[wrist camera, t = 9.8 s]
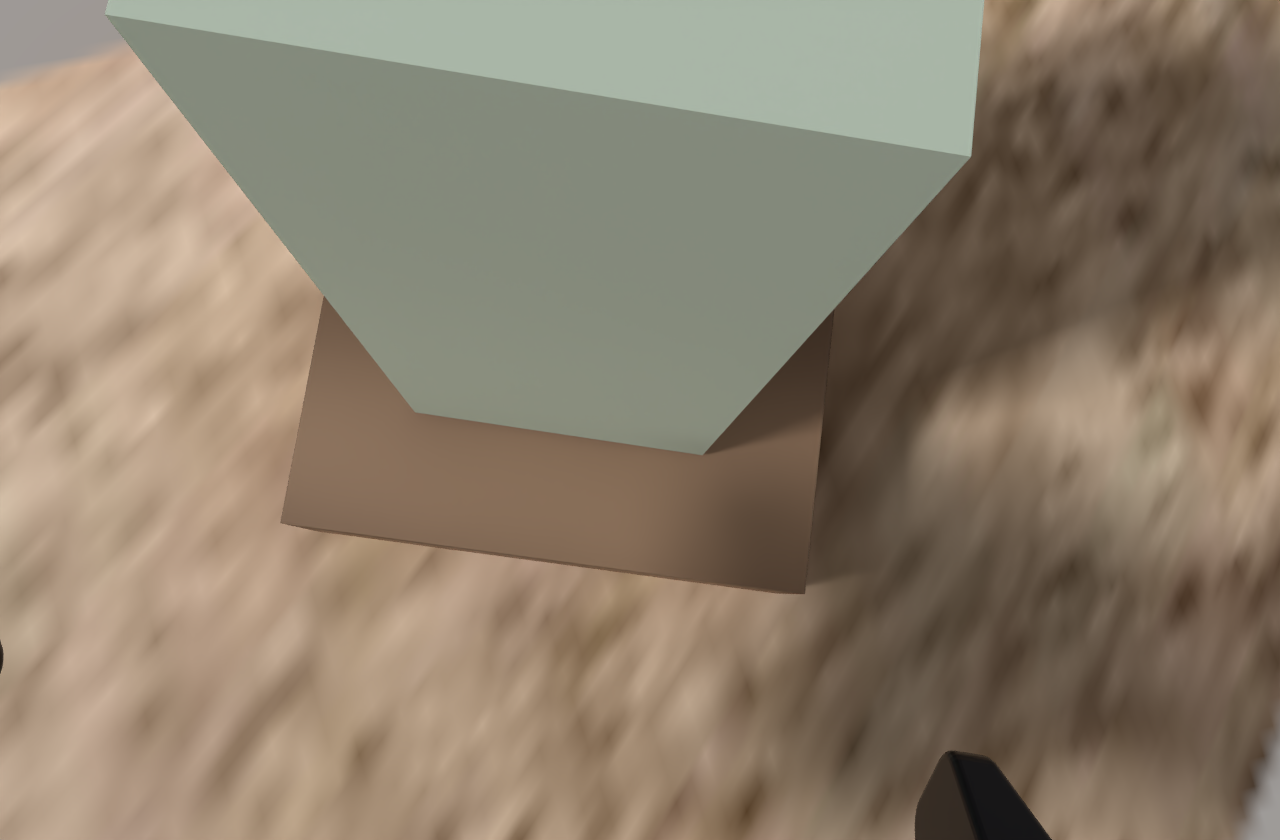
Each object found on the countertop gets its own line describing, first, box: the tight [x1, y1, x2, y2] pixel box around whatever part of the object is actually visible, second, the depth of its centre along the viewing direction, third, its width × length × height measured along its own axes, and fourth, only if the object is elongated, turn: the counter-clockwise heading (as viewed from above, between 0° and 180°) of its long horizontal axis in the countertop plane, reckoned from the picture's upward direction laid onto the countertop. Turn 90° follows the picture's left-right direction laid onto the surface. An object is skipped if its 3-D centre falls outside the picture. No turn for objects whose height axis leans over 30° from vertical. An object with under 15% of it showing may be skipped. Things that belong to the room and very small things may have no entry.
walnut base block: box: [280, 296, 834, 594], centre depth 20 cm, size 9×9×3 cm
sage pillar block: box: [105, 0, 984, 455], centre depth 12 cm, size 5×5×12 cm
